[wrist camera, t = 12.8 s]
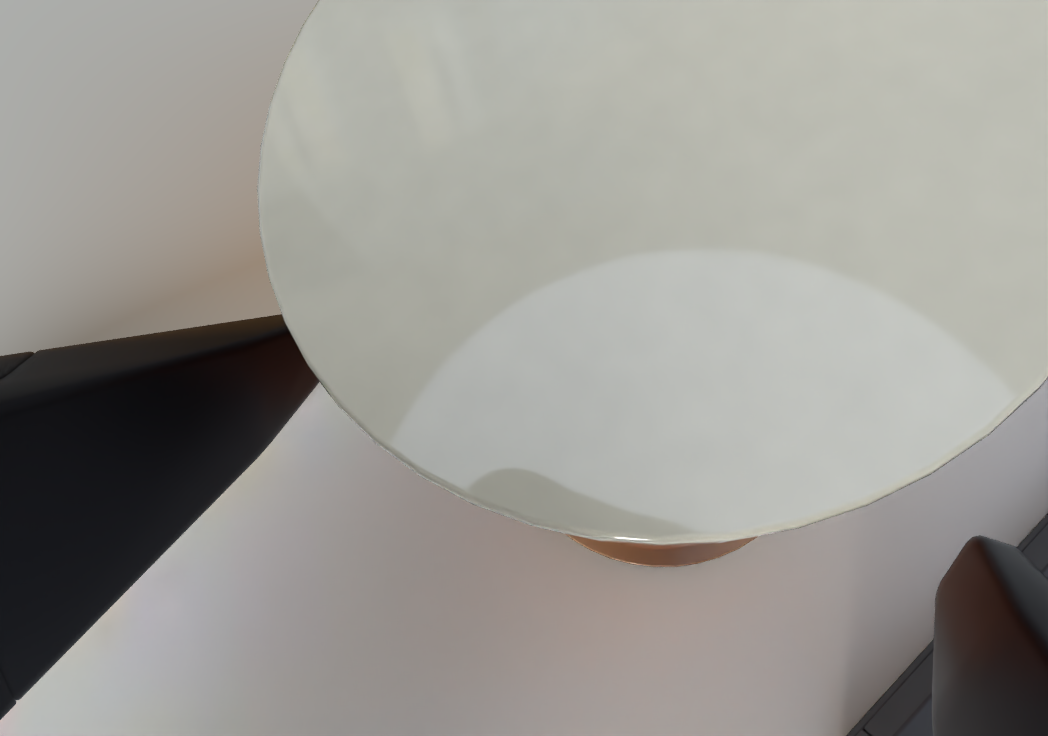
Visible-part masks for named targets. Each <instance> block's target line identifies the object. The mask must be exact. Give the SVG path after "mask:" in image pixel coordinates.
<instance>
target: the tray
mask: <svg viewBox="0 0 1048 736" xmlns="http://www.w3.org/2000/svg"><path fill="white" fill-rule="evenodd" d="M1017 548H1018V549H1019V550H1020V551H1021V552H1022V553H1023V554H1024V555H1025V556H1026V557H1027V558H1028V559H1029V560H1030V561H1031V562H1032V563H1033V564H1034V565H1035V566H1036V567H1037V568H1038V569H1039V570H1040V571H1041V572H1042V573H1043V574H1044V575H1045V576H1046V577H1047V578H1048V514H1047V515H1046V516H1045V517H1044V518H1043V519H1042V521H1041V522H1040V523H1039V524H1038V525H1037V526H1036V527H1035V528H1034V529H1033V530H1032V532H1031V533H1030V534H1029V535H1028V536H1027V537H1026V538H1025V539H1024V540H1023V542H1022V543H1021V544H1020V545H1019V546H1018V547H1017ZM933 652H934V640H933V641H932V642H931V643H930V644H929V645H928V646H927V648H926V649H925V650H924V651H923V652H922V653H921V654H920V655H919V656H918V657H917V659H916V660H915V661H914V662H913V663H912V664H911V665H910V666H909V667H908V669H907V670H906V671H905V672H904V673H903V674H902V675H901V676H900V677H899V678H898V680H897V681H896V682H895V683H894V684H893V685H892V686H891V687H890V688H889V689H888V691H887V692H886V693H885V694H884V695H883V696H882V697H881V698H880V699H879V701H878V702H877V703H876V704H875V705H874V706H873V707H872V708H871V709H870V710H869V712H868V713H867V714H866V715H865V716H864V717H863V718H862V719H861V720H860V721H859V723H858V724H857V725H856V726H855V727H854V728H853V729H852V730H851V731H850V733H849V734H848V735H847V736H933V728H932V683H933Z"/></svg>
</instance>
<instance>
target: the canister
mask: <svg viewBox="0 0 1048 736" xmlns="http://www.w3.org/2000/svg"><path fill="white" fill-rule="evenodd" d="M260 150H261V151H260V162H259V174H258V187H257V193H258V211H259V227H260V236H261V241H262V247H263V251H264V257H265V262H266V266H267V271H268V276H269V280H270V283H271V285H272V288H273V291H274V294H275V297H276V299H277V302H278V305H279V308H280V310H281V313H282V316H283V319H284V321H285V324H286V326H287V328H288V330H289V332H290V333H291V335H292V337H293V339H294V341H295V343H296V345H297V346H298V348H299V350H300V352H301V354H302V356H303V358H304V359H305V361H306V363H307V365H308V367H309V368H310V369H311V371H312V372H313V373H314V375H315V376H316V377H317V379H318V380H319V381H320V383H321V384H322V385H323V387H324V388H325V389H326V391H327V392H328V393H329V395H330V396H331V397H332V399H333V400H334V401H335V403H336V404H337V405H338V407H339V408H340V409H341V410H342V411H343V412H344V413H345V414H346V415H347V416H348V417H349V418H350V419H351V420H353V421H354V422H355V423H356V424H357V425H358V426H359V427H360V428H361V429H362V430H363V431H364V432H365V433H366V434H367V435H368V436H369V437H370V438H371V439H372V440H373V441H374V442H375V443H376V444H377V445H378V446H380V447H381V448H383V449H384V450H385V451H387V452H388V453H389V454H391V455H392V456H393V457H395V458H396V459H398V460H399V461H400V462H402V463H403V464H404V465H406V466H407V467H408V468H410V469H411V470H413V471H414V472H415V473H417V474H418V475H419V476H421V477H423V478H424V479H426V480H428V481H430V482H432V483H434V484H436V485H438V486H439V487H441V488H443V489H445V490H447V491H449V492H451V493H453V494H454V495H456V496H458V497H460V498H462V499H464V500H466V501H468V502H469V503H471V504H473V505H476V506H479V507H482V508H484V509H487V510H490V511H493V512H495V513H498V514H501V515H503V516H506V517H509V518H512V519H514V520H517V521H520V522H523V523H525V524H528V525H531V526H535V527H539V528H542V529H547V530H551V531H556V532H560V533H565V534H569V535H574V536H579V537H583V538H588V539H592V540H597V541H603V542H614V543H617V544H620V545H625V546H629V547H634V548H640V549H652V550H665V549H679V548H684V547H690V546H695V545H699V544H711V543H723V542H729V541H734V540H740V539H745V538H750V537H756V536H761V535H766V534H772V533H777V532H783V531H787V530H792V529H797V528H801V527H804V526H807V525H810V524H813V523H816V522H819V521H822V520H825V519H828V518H831V517H834V516H837V515H840V514H843V513H846V512H849V511H852V510H855V509H858V508H861V507H864V506H867V505H869V504H871V503H873V502H875V501H877V500H879V499H881V498H884V497H886V496H888V495H890V494H892V493H894V492H896V491H898V490H900V489H902V488H904V487H906V486H908V485H910V484H912V483H914V482H916V481H918V480H920V479H922V478H924V477H926V476H928V475H931V474H932V473H934V472H935V471H936V470H938V469H939V468H941V467H942V466H944V465H945V464H947V463H948V462H950V461H951V460H953V459H954V458H956V457H957V456H959V455H960V454H961V453H963V452H964V451H966V450H967V449H969V448H970V447H972V446H973V445H975V444H976V443H978V442H979V441H981V440H982V439H984V438H985V437H987V436H988V435H989V434H990V433H991V432H993V431H994V430H995V429H996V428H997V427H998V426H999V425H1000V424H1001V423H1002V422H1003V421H1004V420H1006V419H1007V418H1008V417H1009V416H1010V415H1011V414H1012V413H1013V412H1014V411H1015V410H1016V409H1018V408H1019V407H1020V406H1021V405H1022V404H1023V403H1024V402H1025V401H1026V400H1027V399H1028V398H1029V397H1031V396H1032V395H1033V394H1034V393H1035V392H1036V391H1037V390H1038V389H1039V388H1040V387H1041V386H1042V384H1043V383H1044V382H1045V381H1046V379H1047V378H1048V0H318V2H317V4H316V5H315V7H314V8H313V10H312V11H311V13H310V14H309V16H308V18H307V19H306V21H305V22H304V24H303V26H302V28H301V30H300V32H299V34H298V36H297V38H296V40H295V42H294V44H293V46H292V48H291V50H290V52H289V54H288V56H287V58H286V61H285V62H284V65H283V68H282V71H281V73H280V77H279V79H278V82H277V85H276V88H275V91H274V93H273V97H272V99H271V102H270V106H269V110H268V115H267V119H266V124H265V129H264V133H263V138H262V143H261V149H260Z"/></svg>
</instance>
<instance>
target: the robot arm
mask: <svg viewBox="0 0 1048 736" xmlns="http://www.w3.org/2000/svg"><path fill="white" fill-rule="evenodd" d="M319 382H320V381H319V380H318V379H317V377H316V376H315V375H314V373H313V372H312V371H311V369H310V368H309V367H308V365H307V363H306V361H305V359H304V358H303V356H302V354H301V352H300V350H299V348H298V346H297V345H296V343H295V341H294V339H293V337H292V335H291V333H290V332H289V330H288V328H287V326H286V324H285V321H284V319H283V316H282V314H281V315H275V316H268V317H261V318H254V319H247V320H241V321H234V322H227V323H220V324H214V325H207V326H200V327H193V328H187V329H180V330H173V331H167V332H160V333H153V334H147V335H140V336H133V337H126V338H120V339H113V340H106V341H99V342H92V343H86V344H79V345H73V346H65V347H59V348H52V349H46V350H39V351H37V352H36V353H33V352H24V353H18V354H11V355H5V356H0V720H1V719H2V718H3V717H4V716H5V715H6V714H7V713H8V711H9V710H10V709H11V708H12V707H13V706H14V705H15V704H16V700H19V699H21V698H22V697H23V696H24V695H25V694H26V693H27V692H28V691H29V690H30V689H31V688H32V687H33V685H34V684H35V683H36V682H37V681H38V680H39V679H40V678H41V677H42V676H43V675H44V674H45V673H46V672H47V671H48V670H49V669H50V668H51V667H52V666H53V665H54V664H55V663H56V662H57V661H58V660H59V659H60V658H61V657H62V656H63V655H64V654H65V653H66V652H67V651H68V650H69V649H70V648H71V647H72V646H73V645H74V644H75V643H76V642H77V641H78V640H79V639H80V638H81V637H82V636H83V635H84V634H85V633H86V632H87V631H88V630H89V629H90V628H91V627H92V626H93V625H94V624H95V623H96V622H97V620H98V619H99V618H100V617H101V616H102V615H103V614H104V613H105V612H106V611H107V610H108V609H109V608H110V607H111V606H112V605H113V604H114V603H115V602H116V601H117V600H118V599H119V598H120V597H121V596H122V595H123V594H124V593H125V592H126V591H127V590H128V589H129V588H130V587H131V586H132V585H133V584H134V583H135V582H136V581H137V580H138V579H139V578H140V577H141V576H142V575H143V574H144V573H145V572H146V571H147V570H148V569H149V568H150V567H151V566H152V565H153V564H154V563H155V562H156V561H157V560H158V559H159V558H160V556H161V555H162V554H163V553H164V552H165V551H166V550H167V549H168V548H169V547H170V546H171V545H172V544H173V543H174V542H175V541H176V540H177V539H178V538H179V537H180V536H181V535H182V534H183V533H184V532H185V531H186V530H187V529H188V528H189V527H190V526H191V525H192V524H193V523H194V522H195V521H196V520H197V519H198V518H199V517H200V516H201V515H202V514H203V513H204V512H205V511H206V510H207V509H208V508H209V507H210V506H211V505H212V504H213V503H214V502H215V501H216V500H217V499H218V498H219V497H220V496H221V495H222V494H223V493H224V491H225V490H226V489H227V488H228V487H229V486H230V485H231V484H232V483H233V482H234V481H235V480H236V479H237V478H238V477H239V476H240V475H241V474H242V473H243V472H244V471H245V470H246V469H247V468H248V467H249V466H250V465H251V464H252V463H253V462H254V461H255V460H256V459H257V458H258V457H259V456H260V454H261V453H262V452H263V451H264V450H265V449H266V448H267V446H268V445H269V444H270V443H271V442H272V441H273V439H274V438H275V437H276V436H277V434H278V433H279V432H280V431H281V429H282V428H283V427H284V426H285V424H286V423H287V422H288V421H289V419H290V418H291V417H292V416H293V414H294V413H295V412H296V411H297V409H298V408H299V407H300V406H301V404H302V403H303V402H304V401H305V399H306V398H307V397H308V396H309V394H310V393H311V392H312V391H313V389H314V388H315V387H316V386H317V384H318V383H319ZM932 728H933V736H1048V578H1047V577H1046V576H1045V575H1044V574H1043V573H1042V572H1041V571H1040V570H1039V569H1038V568H1037V567H1036V566H1035V565H1034V564H1033V563H1032V562H1031V561H1030V560H1029V559H1028V558H1027V557H1026V556H1025V555H1024V554H1023V553H1022V552H1021V551H1020V550H1019V549H1018V548H1016V547H1014V546H1012V545H1009V544H1006V543H1003V542H1000V541H997V540H993V539H990V538H987V537H984V536H980V535H979V536H975V537H972V538H971V539H970V540H969V541H968V542H967V543H966V544H965V546H964V547H963V549H962V550H961V552H960V553H959V555H958V556H957V558H956V559H955V561H954V562H953V564H952V565H951V567H950V568H949V570H948V571H947V573H946V574H945V576H944V577H943V579H942V581H941V582H940V584H939V587H938V590H937V593H936V598H935V622H934V652H933V683H932Z"/></svg>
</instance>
